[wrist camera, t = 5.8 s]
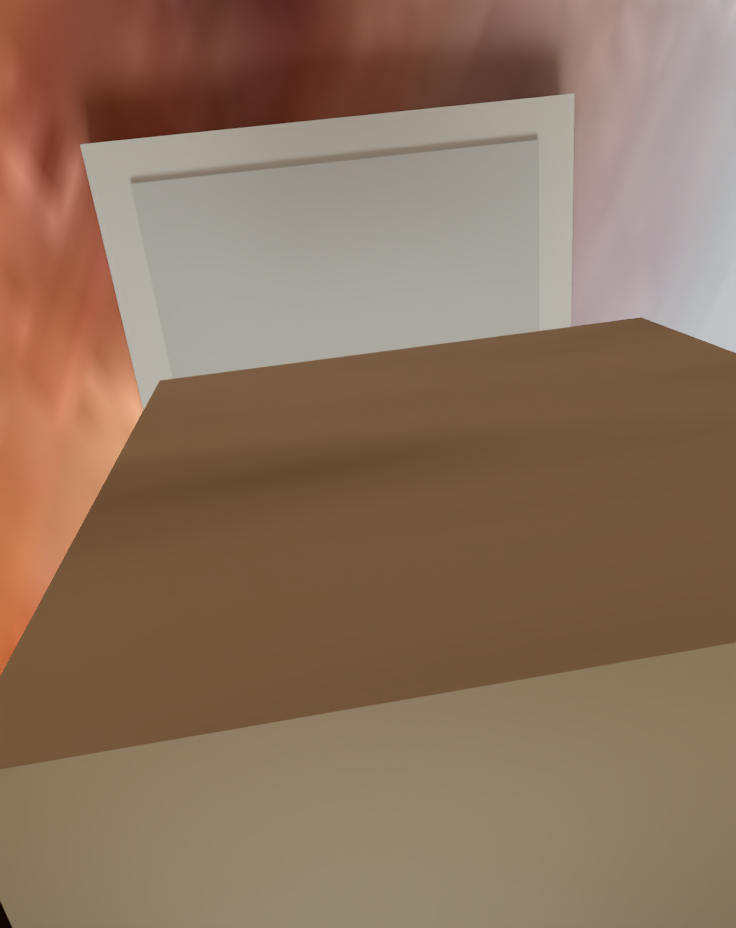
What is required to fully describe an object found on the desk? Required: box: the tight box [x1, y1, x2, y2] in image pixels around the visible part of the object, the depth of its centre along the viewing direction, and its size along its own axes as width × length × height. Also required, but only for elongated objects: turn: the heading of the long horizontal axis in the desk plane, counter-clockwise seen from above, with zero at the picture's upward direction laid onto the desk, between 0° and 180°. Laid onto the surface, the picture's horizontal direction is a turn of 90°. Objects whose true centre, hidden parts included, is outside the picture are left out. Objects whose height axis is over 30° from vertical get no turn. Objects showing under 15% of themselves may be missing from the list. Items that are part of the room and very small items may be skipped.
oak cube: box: [0, 318, 736, 928], centre depth 7 cm, size 6×6×6 cm
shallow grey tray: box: [80, 93, 575, 410], centre depth 17 cm, size 12×10×1 cm
